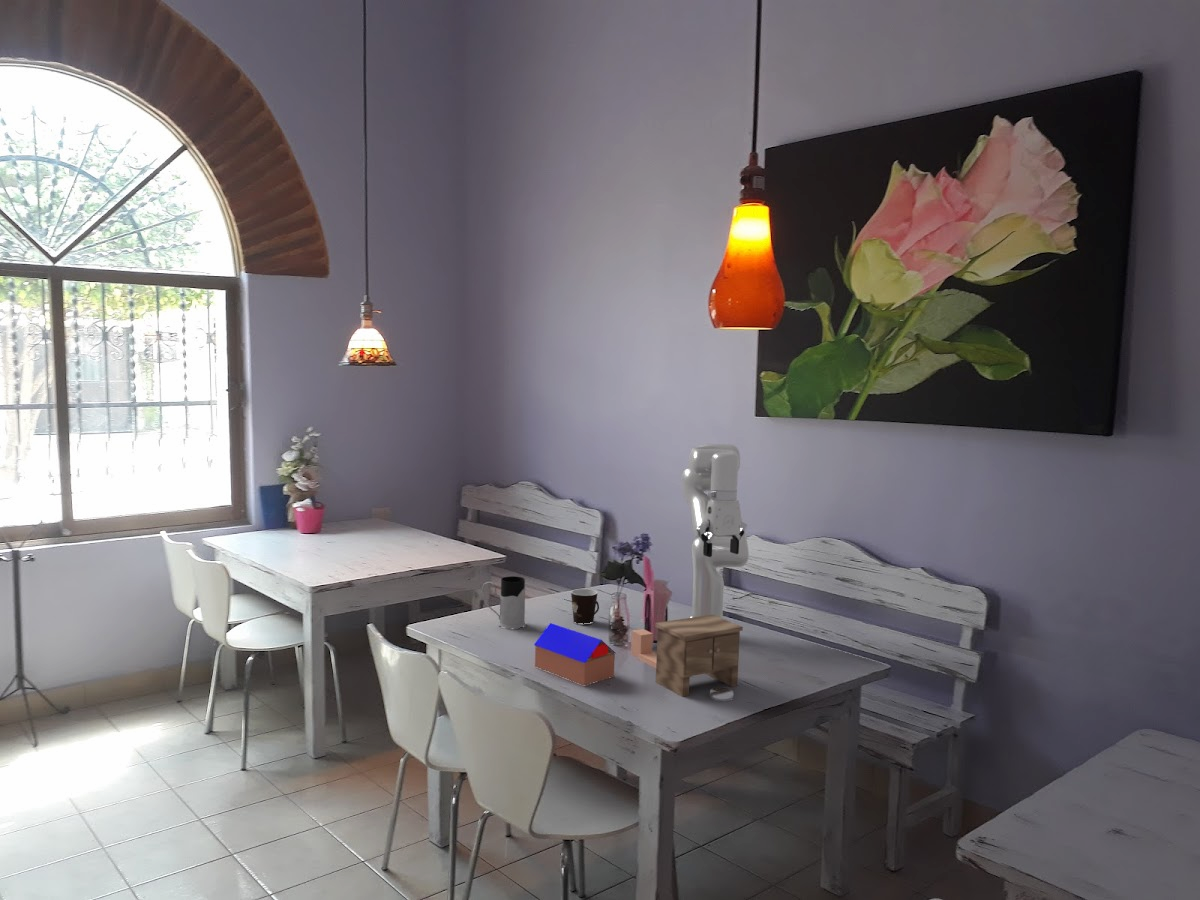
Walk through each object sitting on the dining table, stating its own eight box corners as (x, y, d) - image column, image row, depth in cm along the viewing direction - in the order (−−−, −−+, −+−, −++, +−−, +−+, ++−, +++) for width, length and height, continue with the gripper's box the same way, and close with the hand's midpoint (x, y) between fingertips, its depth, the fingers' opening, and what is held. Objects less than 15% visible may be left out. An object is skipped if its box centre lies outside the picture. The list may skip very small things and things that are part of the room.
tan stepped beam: (629, 654, 264) (630, 630, 263) (643, 651, 266) (644, 628, 266) (672, 677, 245) (673, 652, 245) (687, 674, 248) (688, 649, 247)
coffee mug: (568, 618, 298) (569, 589, 297) (594, 618, 300) (595, 588, 299) (573, 629, 287) (574, 598, 286) (600, 628, 288) (601, 597, 287)
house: (564, 659, 258) (565, 619, 257) (615, 677, 244) (617, 635, 243) (533, 668, 250) (534, 627, 249) (583, 687, 236) (585, 644, 235)
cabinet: (653, 681, 241) (655, 622, 240) (709, 670, 251) (711, 614, 250) (683, 698, 230) (686, 637, 228) (741, 686, 240) (744, 627, 238)
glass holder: (523, 629, 285) (525, 582, 283) (479, 627, 285) (479, 581, 284) (527, 621, 293) (528, 576, 292) (483, 620, 294) (484, 574, 292)
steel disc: (706, 699, 230) (706, 694, 230) (713, 691, 236) (714, 685, 235) (729, 704, 228) (729, 698, 227) (736, 695, 233) (736, 689, 233)
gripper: (707, 499, 251) (704, 559, 253) (755, 496, 260) (752, 554, 262) (691, 495, 258) (688, 554, 259) (738, 492, 267) (736, 549, 268)
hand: (721, 554), depth 261 cm, fingers open, 9 cm apart
